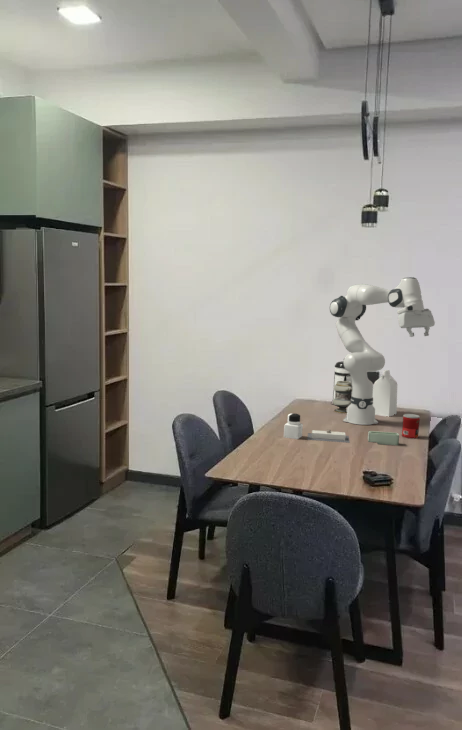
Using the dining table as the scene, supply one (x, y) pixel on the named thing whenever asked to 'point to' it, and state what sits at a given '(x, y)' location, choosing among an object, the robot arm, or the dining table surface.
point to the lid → (328, 435)
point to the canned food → (410, 425)
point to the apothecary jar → (342, 396)
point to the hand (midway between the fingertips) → (419, 336)
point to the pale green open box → (383, 437)
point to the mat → (328, 439)
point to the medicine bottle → (293, 427)
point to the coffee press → (341, 375)
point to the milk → (385, 395)
